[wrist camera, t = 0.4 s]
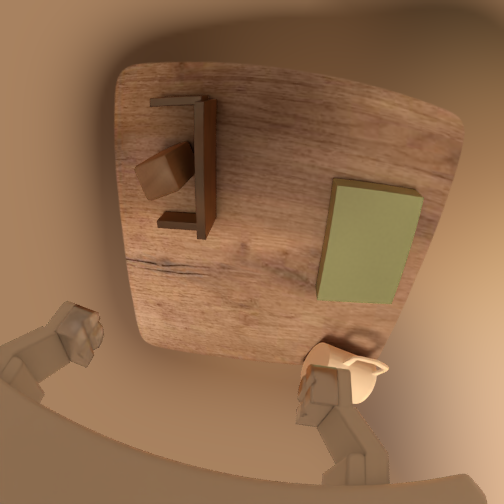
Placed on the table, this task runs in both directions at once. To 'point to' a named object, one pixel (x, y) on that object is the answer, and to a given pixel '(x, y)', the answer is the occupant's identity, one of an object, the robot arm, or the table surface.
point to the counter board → (366, 241)
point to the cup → (358, 366)
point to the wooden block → (166, 171)
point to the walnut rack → (197, 165)
